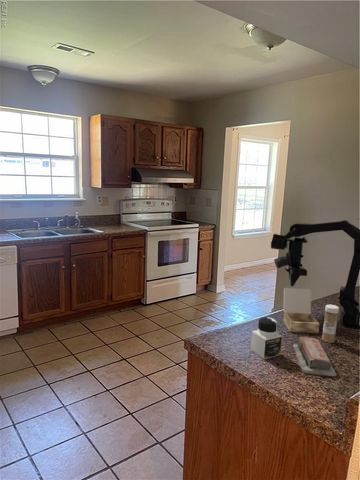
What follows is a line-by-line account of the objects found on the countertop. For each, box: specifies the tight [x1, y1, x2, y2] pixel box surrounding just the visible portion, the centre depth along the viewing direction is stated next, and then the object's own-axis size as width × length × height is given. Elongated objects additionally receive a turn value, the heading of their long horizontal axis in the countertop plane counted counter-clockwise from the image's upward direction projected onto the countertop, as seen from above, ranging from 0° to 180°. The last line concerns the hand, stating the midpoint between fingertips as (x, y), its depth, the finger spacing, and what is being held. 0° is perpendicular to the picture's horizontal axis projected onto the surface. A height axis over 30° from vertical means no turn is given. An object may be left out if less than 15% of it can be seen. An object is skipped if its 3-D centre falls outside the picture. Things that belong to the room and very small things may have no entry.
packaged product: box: [292, 336, 338, 377], centre depth 113 cm, size 18×5×10 cm
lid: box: [283, 287, 312, 315], centre depth 145 cm, size 11×10×1 cm
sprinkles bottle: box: [321, 304, 340, 344], centre depth 127 cm, size 5×5×13 cm
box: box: [283, 312, 320, 334], centre depth 139 cm, size 11×10×4 cm
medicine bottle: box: [250, 316, 283, 360], centre depth 116 cm, size 7×7×12 cm
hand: (291, 285), depth 153 cm, fingers closed
